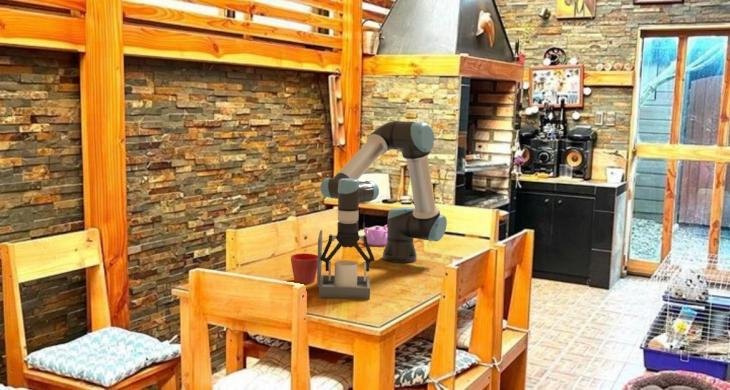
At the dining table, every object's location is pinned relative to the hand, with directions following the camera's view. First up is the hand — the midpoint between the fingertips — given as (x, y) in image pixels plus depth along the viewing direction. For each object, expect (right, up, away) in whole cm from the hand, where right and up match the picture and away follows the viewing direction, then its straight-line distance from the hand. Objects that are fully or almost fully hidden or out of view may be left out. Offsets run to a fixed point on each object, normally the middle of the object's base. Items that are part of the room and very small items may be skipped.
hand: (347, 280), depth 256 cm
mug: (-1, -4, 0) cm, 4 cm away
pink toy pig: (+12, +7, +89) cm, 90 cm away
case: (-2, -4, +1) cm, 5 cm away
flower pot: (-17, -2, +14) cm, 22 cm away
